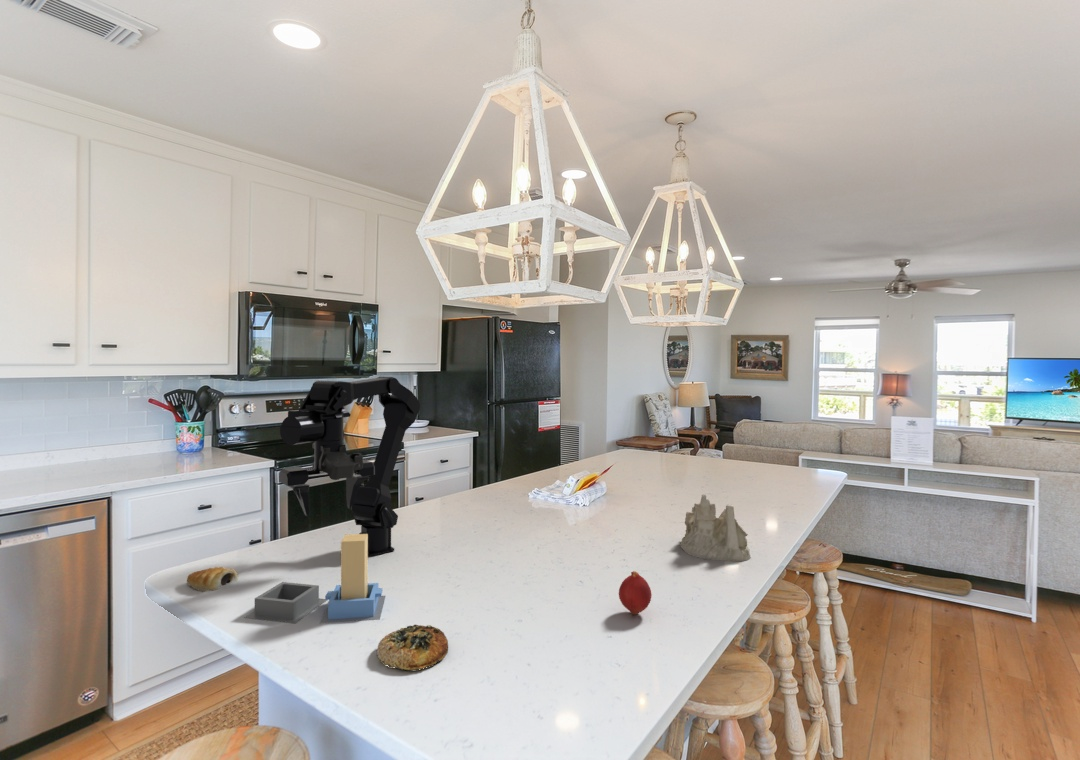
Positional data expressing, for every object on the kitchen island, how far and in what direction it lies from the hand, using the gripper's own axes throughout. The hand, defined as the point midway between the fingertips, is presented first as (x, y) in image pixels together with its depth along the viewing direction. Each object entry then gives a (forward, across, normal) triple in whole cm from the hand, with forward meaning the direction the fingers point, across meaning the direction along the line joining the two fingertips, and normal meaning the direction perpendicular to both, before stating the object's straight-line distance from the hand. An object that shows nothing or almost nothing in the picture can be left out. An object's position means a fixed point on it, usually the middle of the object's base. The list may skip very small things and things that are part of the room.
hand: (328, 512), depth 120 cm
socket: (+13, -13, -14) cm, 23 cm away
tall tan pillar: (+12, -4, -22) cm, 25 cm away
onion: (+13, +34, -56) cm, 67 cm away
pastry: (+14, -20, +8) cm, 26 cm away
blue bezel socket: (+13, -4, -22) cm, 26 cm away
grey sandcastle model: (+13, +77, -47) cm, 91 cm away
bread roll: (+14, -4, -42) cm, 44 cm away
